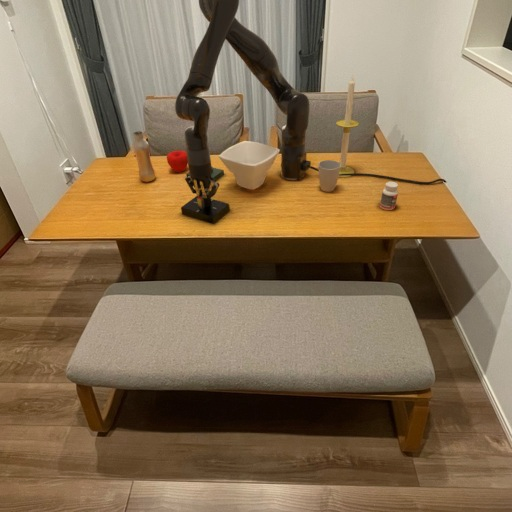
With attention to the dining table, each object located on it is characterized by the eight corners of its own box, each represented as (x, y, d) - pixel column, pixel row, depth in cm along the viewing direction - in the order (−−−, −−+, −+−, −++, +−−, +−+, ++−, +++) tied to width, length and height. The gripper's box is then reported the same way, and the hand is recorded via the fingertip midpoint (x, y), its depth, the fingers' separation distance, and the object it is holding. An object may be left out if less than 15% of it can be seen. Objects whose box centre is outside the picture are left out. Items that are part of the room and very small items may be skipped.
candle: (327, 167, 164) (335, 72, 141) (351, 166, 164) (363, 71, 141) (332, 178, 156) (341, 79, 133) (356, 176, 156) (370, 78, 133)
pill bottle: (392, 212, 135) (397, 189, 129) (377, 208, 137) (381, 185, 132) (396, 205, 138) (401, 182, 133) (382, 201, 141) (386, 179, 135)
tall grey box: (207, 201, 139) (206, 190, 137) (211, 202, 139) (210, 192, 136) (198, 208, 136) (196, 197, 133) (202, 209, 135) (200, 199, 132)
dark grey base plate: (224, 174, 162) (223, 166, 160) (210, 184, 156) (209, 175, 153) (201, 169, 167) (200, 160, 165) (186, 178, 161) (185, 170, 158)
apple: (173, 176, 163) (169, 159, 158) (166, 169, 169) (163, 152, 164) (193, 171, 166) (190, 154, 161) (185, 164, 172) (182, 147, 167)
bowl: (245, 170, 164) (243, 139, 156) (284, 181, 155) (284, 148, 147) (217, 188, 153) (213, 155, 144) (257, 202, 144) (256, 167, 135)
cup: (340, 185, 151) (343, 161, 145) (334, 195, 145) (337, 170, 139) (320, 182, 154) (322, 158, 148) (314, 191, 148) (315, 167, 142)
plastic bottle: (158, 176, 163) (148, 129, 151) (153, 183, 158) (142, 136, 146) (143, 176, 164) (132, 129, 152) (138, 183, 159) (126, 136, 146)
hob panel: (229, 210, 140) (229, 203, 138) (213, 224, 133) (213, 216, 131) (198, 201, 145) (197, 194, 143) (182, 214, 139) (180, 207, 137)
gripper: (222, 159, 126) (227, 205, 137) (189, 151, 132) (196, 196, 143) (209, 168, 121) (214, 215, 132) (175, 160, 127) (183, 205, 138)
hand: (205, 205), depth 137 cm, fingers closed on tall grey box, 2 cm apart
